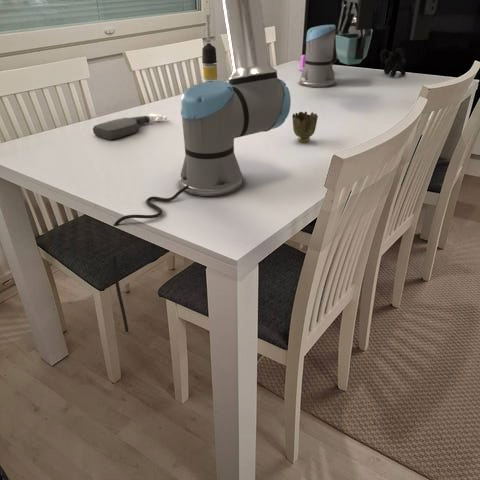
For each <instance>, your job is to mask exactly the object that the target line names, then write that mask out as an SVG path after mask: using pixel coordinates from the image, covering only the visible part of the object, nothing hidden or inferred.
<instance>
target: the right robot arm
mask: <svg viewBox="0 0 480 480" xmlns="http://www.w3.org/2000/svg"><path fill="white" fill-rule="evenodd" d="M357 1H358V0H342V1H341V10H340V16H339V20H338V25H337V27H336V24H322V25H317V26H313V27H310V28H309V29H308V30H307V31H306V39H305V55H306V56H305V66H304V69H303V71H301V75H300V78H299V85H301V86H303V87H309V88H327V87H328V88H329V87H333V86H334V85H335V84H336V83H335V82H336V78H335V72H334V68H333V65H334V64H336V63H339V59H338V56H337V53H336V35H340V34H354V33H358V34H359V37H357V45H356V54H355V59H356V60H357V59H363V60H364V59H365V58H367V56H368V51H369V49H370V44H371V40H372V35H373V32H374V31H373V29H372V28H371V29H364V30H356V20H357V11H358V5H357ZM370 36H371V38H370V42H369V46H368V50H367V53H366V55H365V57H364V58H363V54H364V48H365V42H366V38H367V37H370Z"/></svg>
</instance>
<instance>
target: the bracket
mask: <svg viewBox="0 0 480 480" xmlns="http://www.w3.org/2000/svg"><path fill="white" fill-rule="evenodd" d="M305 56H306V54H302V55H301V56H300V61H299V62H300V66H299V70H300V71H301V72H303V69H304V66H305Z"/></svg>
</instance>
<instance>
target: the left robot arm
mask: <svg viewBox="0 0 480 480" xmlns="http://www.w3.org/2000/svg"><path fill="white" fill-rule="evenodd" d="M375 2H376V0H358V1H357V5H358V11H357V20H356V30H364V29H372V27H373V17H374V9H375ZM438 2H439V1H438V0H415V6H414V12H413V17H412V18H413V19H412V25H411V30H410V35H409V41H422V40H423V41H424V40H428V39H429V34H430V30H431V24H432V19H433V15H435V13H436V11H437V6H438ZM222 7H223V13H224V20H225V26H226V32H227V39H228V44H229V51H230V58H231V65H232V72H231V74H230V75H229V76H228V79H227V80H228V81H225V80H212V81H213V82H207V81H203V82H201V83H197V84H194V85H192V86H190V87H188V88H187V89H185V90H184V92H183V93H182V95H181V98H180V99H181V100H180V116H181V120H182V121H181V122H182V132H183V143H184V154H185V155H184V158H183V164H182V168H181V171H180V176H179V183H180V184H179V185H180V188H181V189H179V190H178V191H176V192H175V194H174V195H172V196H171V197H167V198H166V197H160V196H150V197H148V198H147V199H145V203H146V204H147V206H149V207H151V208H153V209H154V210H157V211H158V212H157V213H155V214H127V215H124V216H122V217H119V218H118V219H117V220H116V221H114V223H113V225H112V226H113V227H117V226H118V225H119V224H120V223H121V222H123V221H125V220H129V219H156V218H158V217H160V216H161V215H162V214H163V209H162V208H161V207H159V206H158V205H157V204H154V203H152V202H151V201H153V200H155V201H159V202H172V201H174V200H175V199H176V198H178V196H180V195H181V194H182V193H184V192H186V193H187V194H190V195H194V196H199V197H221V196H224V195H229V194H232V193H234V192H235V191H237V190H239V189H240V188H241V187H242V185H243V174H242V171H241V168H240V165H239V163H238V160H237V157H236V154H235V139H238V138H242V137H246V136H249V135H250V136H251V135H254V134H258V133H264V132H266V133H267V132H269V131H271V130H275V129H277V128H279V127H281V126H282V125H283V124H284V123H285V121H286V119H287V118H288V116H289V114H290V111H291V103H292V102H291V93H290V89H289V87H288V86H287V83H286V82H285V81H284V80H282V79H280V78H279V77H278V71H277V69H276V68H274V67H273V66H272V65H271V64H270V59H269V52H268V45H267V38H266V37H267V36H266V30H265V21H264V14H263V7H262V0H222ZM112 268H113V276H114V284H115V289H116V294H117V299H118V303H119V307H120V312H121V316H122V320H123V325H124V331H125V333H128V332H129V326H128V320H127V315H126V310H125V307H124V306H125V305H124V302H123V298H122V293H121V287H120V283H119V277H118V266H117V256H116V255H112Z"/></svg>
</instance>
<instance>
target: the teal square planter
mask: <svg viewBox="0 0 480 480" xmlns="http://www.w3.org/2000/svg"><path fill="white" fill-rule="evenodd" d="M357 37H359V34H358V33H354V34H340V35H336V53H337V56H338V59H337V60H338V62H339V63H341V64H345V65H346V66H347V65H348V66H350V65H358V64H361V63H362V62H363V60H364V59H365V58H366V57H365V55H366V53H367V54H368V52H367V50H368V51H369V48H368V46H369V47H370V44H369V42H370V43H371V40H370V38H371V39H372V36H370V37H367V38H366V42H365V48H364V54H363V58H364V57H365V58H364V59H357V60H356V59H355V54H356V45H357ZM366 56H367V55H366Z"/></svg>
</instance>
